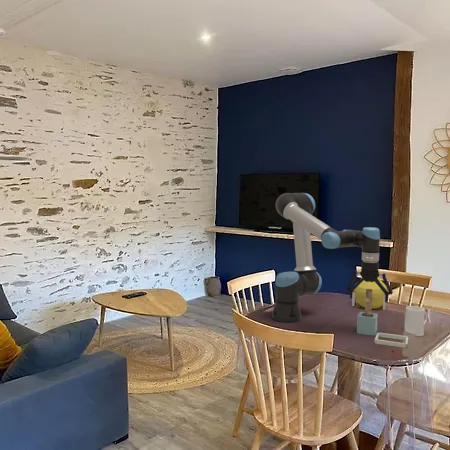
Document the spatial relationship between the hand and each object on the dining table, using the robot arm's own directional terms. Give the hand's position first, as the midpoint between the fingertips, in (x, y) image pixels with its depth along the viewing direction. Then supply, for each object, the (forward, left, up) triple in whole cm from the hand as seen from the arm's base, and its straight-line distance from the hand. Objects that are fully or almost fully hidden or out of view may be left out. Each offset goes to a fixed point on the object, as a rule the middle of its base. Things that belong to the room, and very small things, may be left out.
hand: (368, 307), depth 211 cm
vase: (-5, +51, -13) cm, 53 cm away
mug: (+21, +12, -13) cm, 27 cm away
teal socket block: (0, 0, -13) cm, 13 cm away
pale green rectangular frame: (+11, -9, -13) cm, 19 cm away
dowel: (0, 0, -12) cm, 12 cm away
